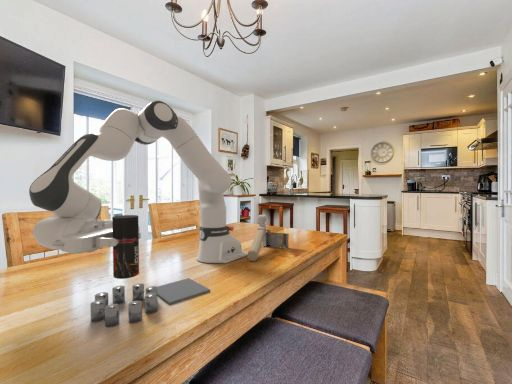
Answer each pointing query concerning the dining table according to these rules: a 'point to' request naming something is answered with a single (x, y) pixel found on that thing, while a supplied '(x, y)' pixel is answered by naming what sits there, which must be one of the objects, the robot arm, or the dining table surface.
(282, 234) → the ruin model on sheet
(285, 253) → the dining table surface
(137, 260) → the deodorant
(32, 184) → the robot arm
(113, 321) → the grey upright cylinders
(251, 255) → the hammer
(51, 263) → the dining table surface
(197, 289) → the slate mat
